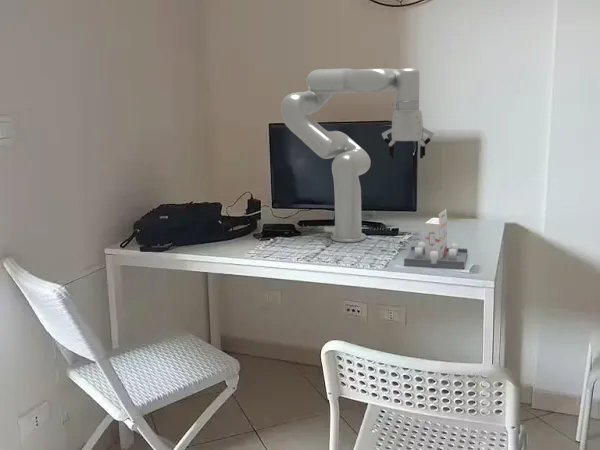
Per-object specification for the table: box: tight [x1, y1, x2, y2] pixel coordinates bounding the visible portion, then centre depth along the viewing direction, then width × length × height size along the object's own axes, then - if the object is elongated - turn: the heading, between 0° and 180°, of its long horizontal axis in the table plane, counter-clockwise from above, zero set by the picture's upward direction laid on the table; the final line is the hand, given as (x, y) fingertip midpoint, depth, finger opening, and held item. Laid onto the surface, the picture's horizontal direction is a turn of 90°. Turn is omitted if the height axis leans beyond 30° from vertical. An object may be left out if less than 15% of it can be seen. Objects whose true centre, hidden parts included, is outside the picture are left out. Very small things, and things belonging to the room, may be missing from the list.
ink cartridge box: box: [424, 209, 448, 260], centre depth 208 cm, size 9×5×15 cm, turn 153°
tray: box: [403, 241, 468, 269], centre depth 209 cm, size 18×17×5 cm
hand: (407, 157), depth 223 cm, fingers open, 9 cm apart
